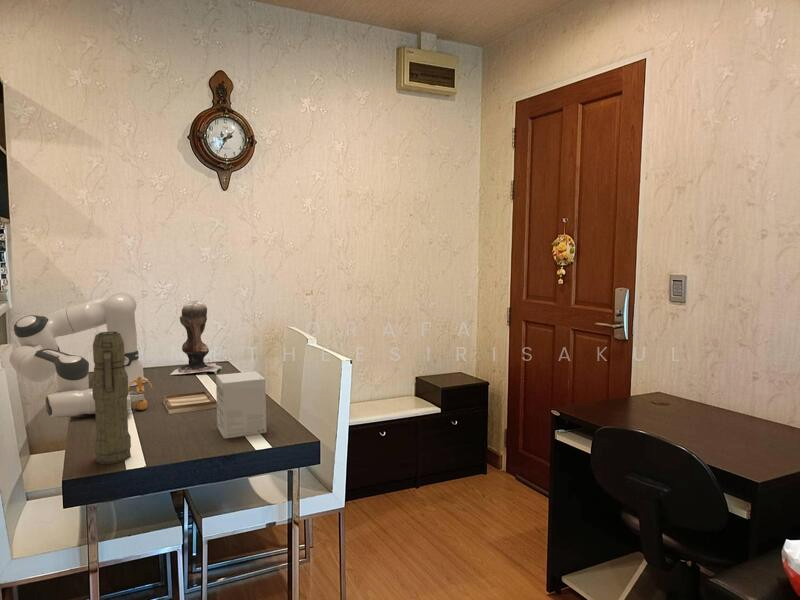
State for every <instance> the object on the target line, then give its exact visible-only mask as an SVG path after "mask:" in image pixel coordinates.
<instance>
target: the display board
mask: <svg viewBox="0 0 800 600" xmlns="http://www.w3.org/2000/svg"><path fill="white" fill-rule="evenodd" d="M162 403H163V405H164V407H165V408H166V411H167V413H168V415H172V414H173V415H174V414H181V413H182V414H183V413H189V412H195V411H203V410H211V409H217V400H215V398H214V397H213V396H212V395H211V394H210V393H209V391H208V390H201V391H191V392H184V393H175V394H174V393H173V394H165V395H162Z"/></svg>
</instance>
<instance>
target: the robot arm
mask: <svg viewBox="0 0 800 600" xmlns="http://www.w3.org/2000/svg"><path fill="white" fill-rule="evenodd" d="M136 309H137V300H136V299H135V298H134V297H133V296H132V295H131V294H129V293H127V292H117V293H114V294H111V295H107V296H104V297H99V298H97V299H93V300H90V301H86V302H81V303H79V304H75V305H72V306H66V307H65V308H61V309H58V310H56V311H52V312H50V313H49V314H46V315H44V316H42V315H35V314H29V315H26V316H23V317H21V318H19V319H18V320H17V321H16V322H15V324H14V325H13V333H14V335H15V337H17V339H18V342H19V344H20V346H17V347H16V348H15V349H13V350H12V351H11V353H10V355H9V363H10V365H11V367H12V368H13V369H14V370H15V371H16V372H17V373H18V374H19V375H21V376H22V377H23V378H24V379H26V380H28V381H30V382H33V383H42V382H45V381H47V380H49V379H51V378H52V377H53V376H54V375H55V374H56V381H57V390H56V391H55V393H51V394H48V395H46V396H45V407H46V413H47V415H48V416H49V417H50V418H51V417H52V418H68V417H69V418H71V417H77V416H81V415H95V401H94V399H93V393H92V388H90V382H89V381H90V380H89V372H90V370H89V369H90V363H89V361H88V359H85V358H84V357H82V356H80V355H74V354H69V353H66V352H63V351H61V349H60V346H58V343H57V341H56V339H55V338H58V337H64V336H69V335H73V334H77V333H80V332H84V331H87V330H91V329H94V328H97V327H100V326H101V327H102V326H103V325H106V332H118V333H120V334H121V336H122V339H123V341H124V354H125V360H124V365H125V370H126V373H127V375H128V387H129V384H130V383H131V382H132V381H134V380H135V379H137V378H138V377H139V376H140V377H141V378H142V379H145V380H148V381H149V379H148V378H146V377H144V367H143V363H142V362H141V361H140V360H139V356H140V354H139V350H138V342H137V341H138V336H137V335H138V333H137V326H136V314H135V312H136ZM144 383H147V382H146V381H143V383H142V384H144ZM134 386H135V387H136V386H138V385H137V383H136V382H134V383H132V384H131V385H130V387H134ZM128 392H129V394H128V396H127V410H129V409H131V408H132V403H134V402H137V401H138V400H143V399H145V393H144V394H142V393H143V392H142V391H139V394H138V395H137V391H128Z"/></svg>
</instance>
